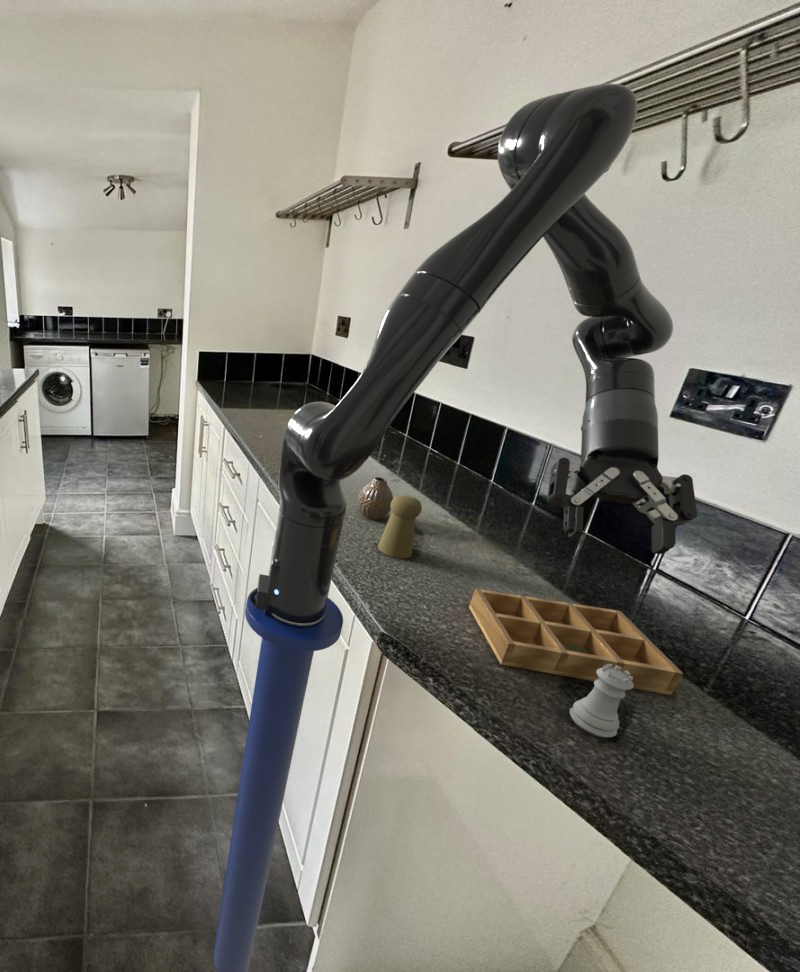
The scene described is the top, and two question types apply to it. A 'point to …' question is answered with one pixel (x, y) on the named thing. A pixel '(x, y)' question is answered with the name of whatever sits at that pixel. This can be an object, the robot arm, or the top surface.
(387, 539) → the cork
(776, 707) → the top surface
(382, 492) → the vase
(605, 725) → the rook chess piece
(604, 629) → the grid
